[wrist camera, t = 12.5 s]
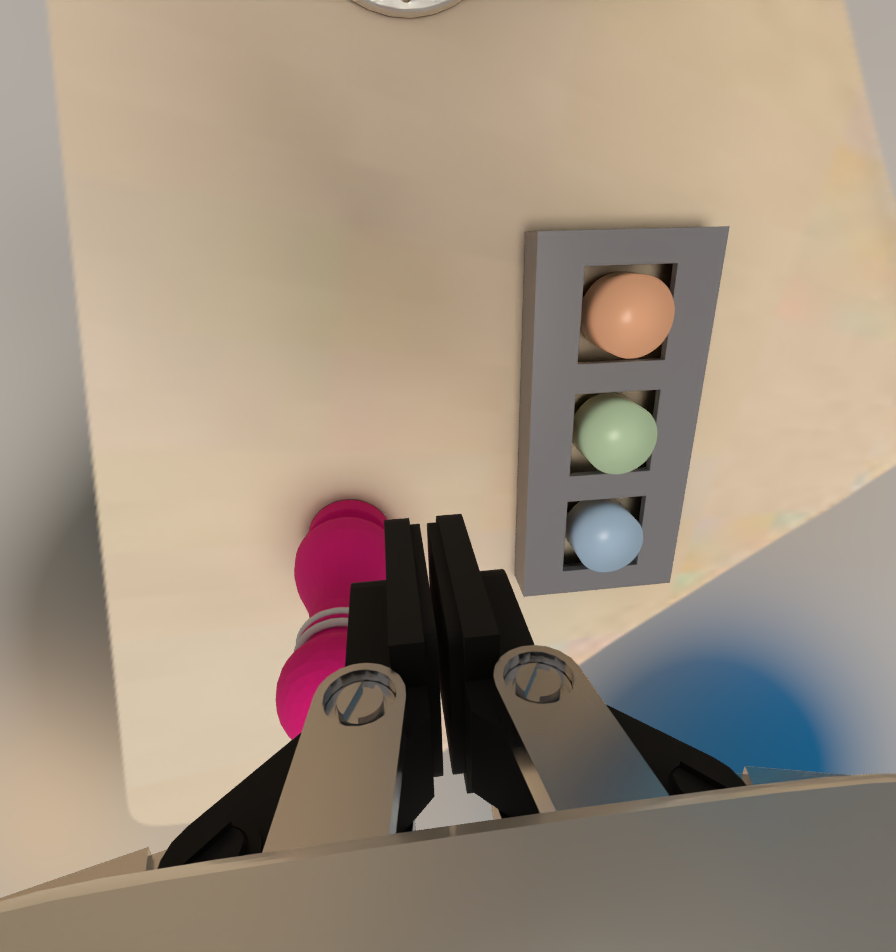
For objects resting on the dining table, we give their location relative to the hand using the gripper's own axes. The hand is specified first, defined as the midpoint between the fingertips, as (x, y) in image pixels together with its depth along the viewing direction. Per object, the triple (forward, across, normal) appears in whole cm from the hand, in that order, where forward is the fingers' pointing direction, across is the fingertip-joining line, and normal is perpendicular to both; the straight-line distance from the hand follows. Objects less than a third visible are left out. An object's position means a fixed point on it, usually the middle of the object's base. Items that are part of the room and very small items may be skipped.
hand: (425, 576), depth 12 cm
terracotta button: (+26, -15, -2) cm, 30 cm away
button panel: (+27, -15, +6) cm, 32 cm away
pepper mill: (+27, +4, +14) cm, 31 cm away
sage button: (+26, -15, +6) cm, 30 cm away
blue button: (+26, -15, +14) cm, 33 cm away
